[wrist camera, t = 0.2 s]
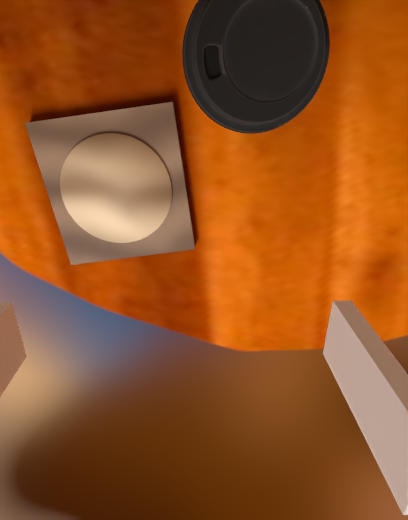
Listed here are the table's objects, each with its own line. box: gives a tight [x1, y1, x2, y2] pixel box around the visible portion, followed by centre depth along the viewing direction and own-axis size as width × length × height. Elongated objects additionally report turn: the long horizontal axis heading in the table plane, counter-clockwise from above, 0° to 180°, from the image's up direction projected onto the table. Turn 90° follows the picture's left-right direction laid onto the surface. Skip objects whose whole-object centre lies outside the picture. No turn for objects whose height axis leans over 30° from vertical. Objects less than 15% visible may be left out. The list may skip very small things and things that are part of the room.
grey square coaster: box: [25, 102, 195, 265], centre depth 38 cm, size 16×15×2 cm
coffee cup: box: [183, 0, 330, 133], centre depth 28 cm, size 9×9×15 cm
